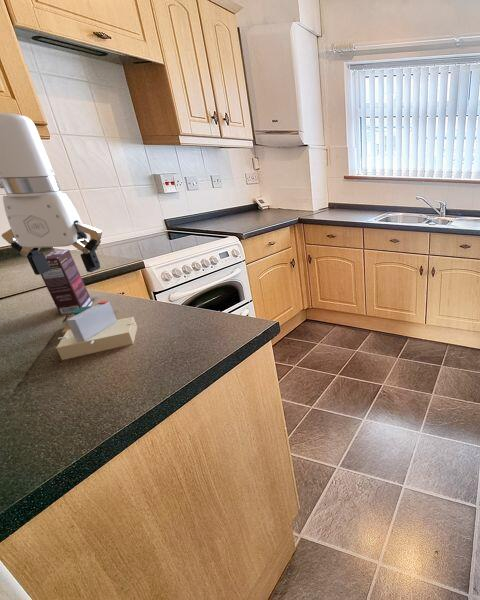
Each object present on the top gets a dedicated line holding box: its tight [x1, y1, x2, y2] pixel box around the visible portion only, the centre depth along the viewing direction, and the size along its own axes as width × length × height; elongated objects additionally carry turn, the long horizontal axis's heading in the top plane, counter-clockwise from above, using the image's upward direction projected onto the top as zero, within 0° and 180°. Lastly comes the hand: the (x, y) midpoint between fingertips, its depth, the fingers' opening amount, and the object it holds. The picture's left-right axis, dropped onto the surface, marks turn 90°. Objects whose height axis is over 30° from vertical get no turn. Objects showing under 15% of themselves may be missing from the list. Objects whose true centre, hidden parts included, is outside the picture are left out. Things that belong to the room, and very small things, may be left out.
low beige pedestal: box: [55, 316, 138, 361], centre depth 75 cm, size 13×13×3 cm
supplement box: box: [40, 249, 94, 319], centre depth 88 cm, size 9×5×16 cm, turn 27°
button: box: [73, 305, 93, 316], centre depth 81 cm, size 4×4×2 cm
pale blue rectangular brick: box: [66, 300, 118, 341], centre depth 73 cm, size 9×2×5 cm, turn 1°
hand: (69, 271), depth 71 cm, fingers open, 9 cm apart
